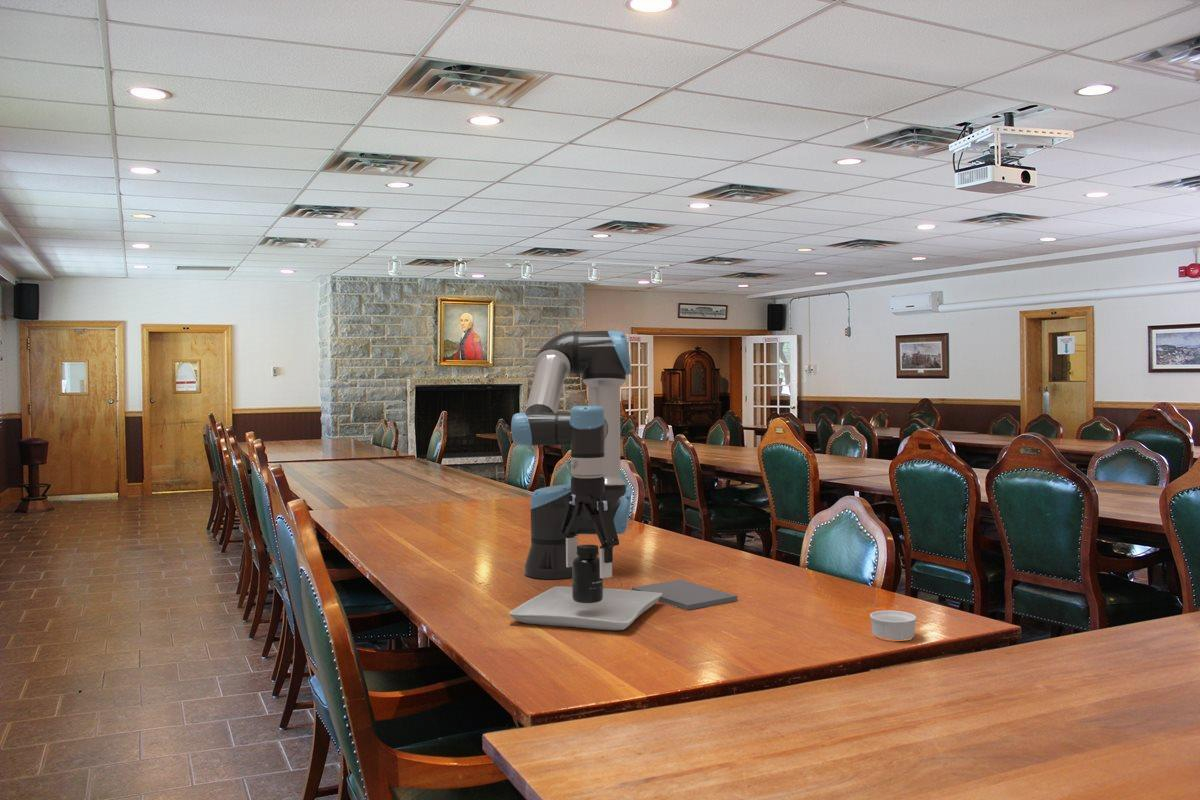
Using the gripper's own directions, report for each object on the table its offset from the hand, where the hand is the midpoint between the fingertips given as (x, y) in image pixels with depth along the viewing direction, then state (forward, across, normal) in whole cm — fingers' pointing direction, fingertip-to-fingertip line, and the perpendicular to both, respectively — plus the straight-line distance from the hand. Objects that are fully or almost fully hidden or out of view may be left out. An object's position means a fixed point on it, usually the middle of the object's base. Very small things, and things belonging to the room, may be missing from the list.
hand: (588, 571), depth 202 cm
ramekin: (+10, +50, +40) cm, 65 cm away
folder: (+9, 0, +27) cm, 28 cm away
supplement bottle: (+7, 0, 0) cm, 7 cm away
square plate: (+10, 0, 0) cm, 10 cm away
